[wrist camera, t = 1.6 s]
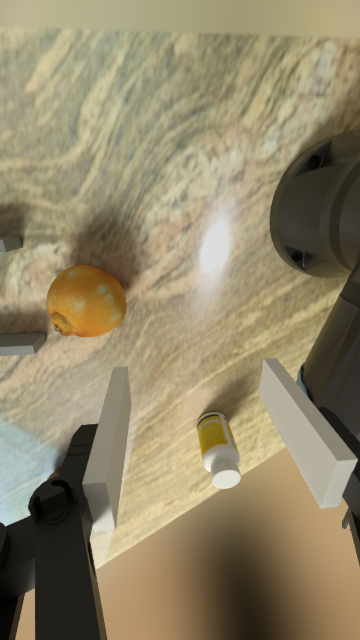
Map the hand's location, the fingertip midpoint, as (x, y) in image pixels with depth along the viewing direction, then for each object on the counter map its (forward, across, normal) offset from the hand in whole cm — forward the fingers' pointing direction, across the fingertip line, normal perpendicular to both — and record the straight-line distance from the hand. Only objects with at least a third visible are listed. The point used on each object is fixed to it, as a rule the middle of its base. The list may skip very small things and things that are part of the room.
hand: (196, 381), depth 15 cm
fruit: (+19, +10, 0) cm, 22 cm away
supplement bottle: (+19, -6, +24) cm, 31 cm away
